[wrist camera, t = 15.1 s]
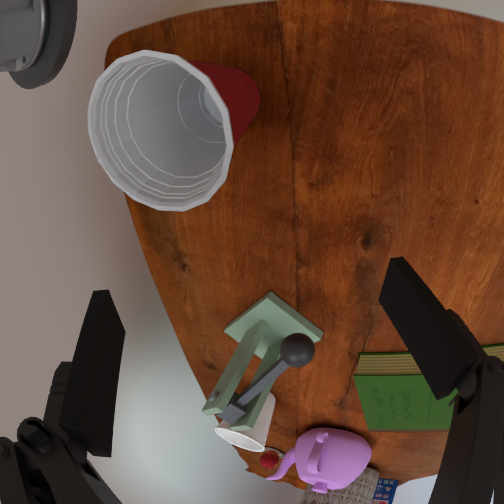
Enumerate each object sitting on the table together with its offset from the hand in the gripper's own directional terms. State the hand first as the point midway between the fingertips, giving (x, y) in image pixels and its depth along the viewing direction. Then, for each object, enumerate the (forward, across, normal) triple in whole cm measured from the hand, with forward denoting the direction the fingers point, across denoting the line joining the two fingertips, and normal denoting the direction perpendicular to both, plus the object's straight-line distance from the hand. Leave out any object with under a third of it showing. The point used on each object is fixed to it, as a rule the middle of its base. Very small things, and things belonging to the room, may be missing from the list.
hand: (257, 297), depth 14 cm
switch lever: (+10, +2, -21) cm, 23 cm away
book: (+4, +29, -28) cm, 40 cm away
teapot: (+13, +18, -59) cm, 63 cm away
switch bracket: (+18, +5, -23) cm, 30 cm away
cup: (+21, +4, -45) cm, 50 cm away
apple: (+22, +8, -86) cm, 89 cm away
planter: (+9, +27, -81) cm, 86 cm away
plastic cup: (+18, +1, +6) cm, 20 cm away
